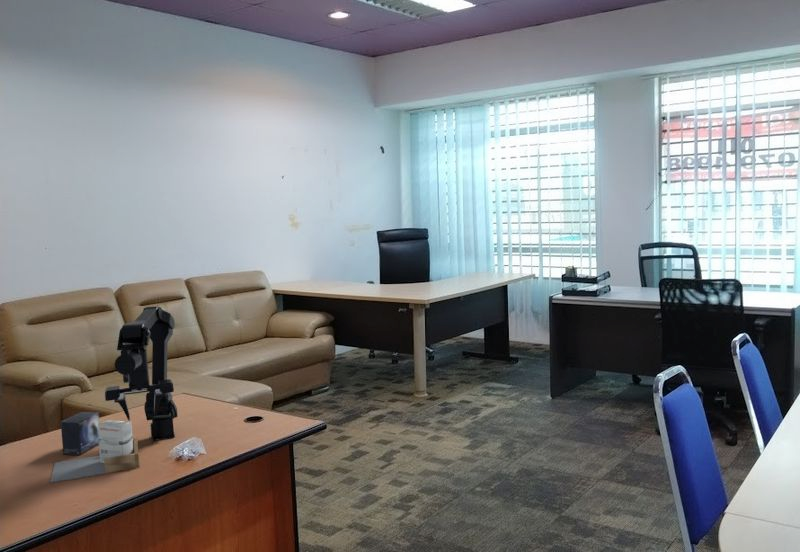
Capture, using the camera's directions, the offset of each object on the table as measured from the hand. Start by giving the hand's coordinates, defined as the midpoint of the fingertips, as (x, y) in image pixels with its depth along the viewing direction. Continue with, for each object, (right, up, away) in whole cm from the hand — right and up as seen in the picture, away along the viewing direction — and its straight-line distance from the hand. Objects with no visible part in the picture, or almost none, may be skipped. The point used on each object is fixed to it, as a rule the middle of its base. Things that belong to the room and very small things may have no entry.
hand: (142, 418), depth 210 cm
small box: (-23, -12, +12) cm, 28 cm away
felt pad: (-16, -13, -5) cm, 22 cm away
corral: (-6, -13, -1) cm, 14 cm away
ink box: (-7, -13, -2) cm, 14 cm away
